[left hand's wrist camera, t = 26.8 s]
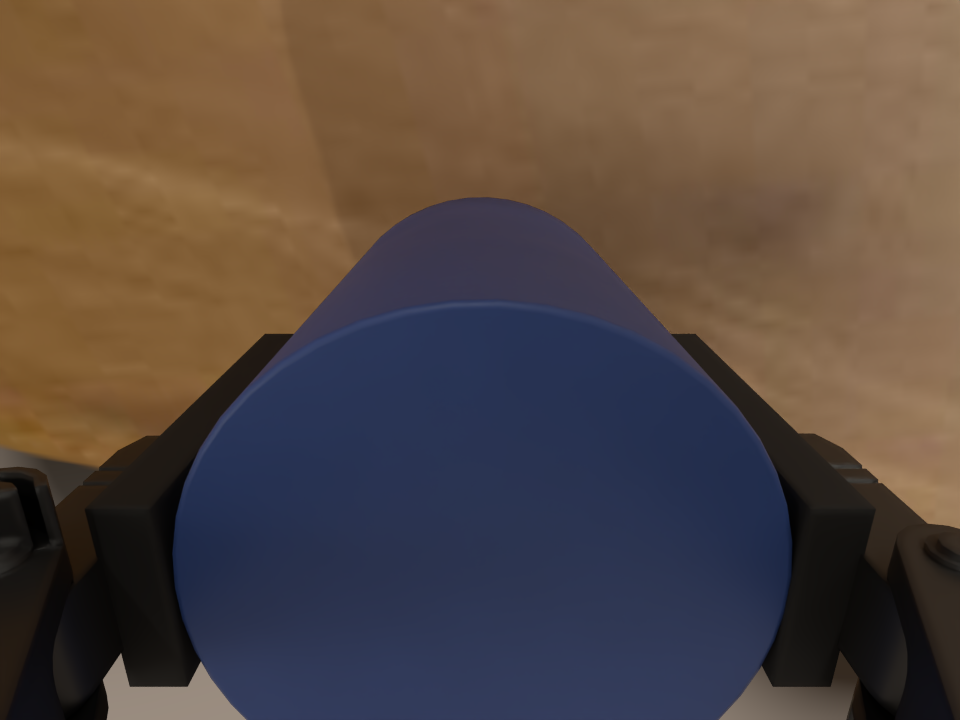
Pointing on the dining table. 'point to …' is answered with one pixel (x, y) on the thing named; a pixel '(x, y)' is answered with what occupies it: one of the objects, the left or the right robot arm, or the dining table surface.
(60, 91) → the dining table surface
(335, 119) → the dining table surface
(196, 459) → the canister
